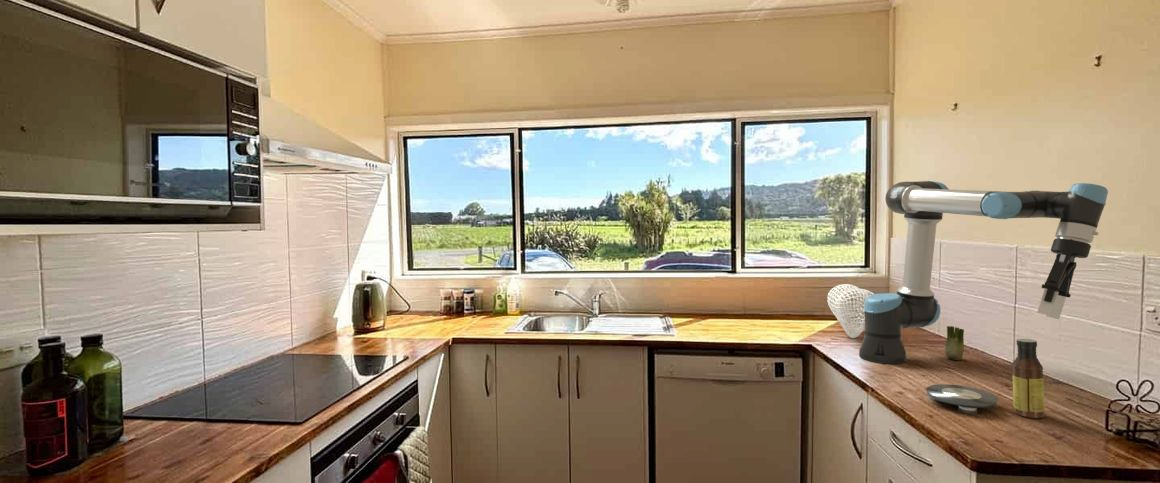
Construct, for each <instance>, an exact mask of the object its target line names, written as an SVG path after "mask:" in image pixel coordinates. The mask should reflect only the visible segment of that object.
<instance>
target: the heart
mask: <svg viewBox="0 0 1160 483" xmlns="http://www.w3.org/2000/svg"><path fill="white" fill-rule="evenodd" d="M874 294H875V293H874V292H872V291H871V290H868V289H863V288H860V287H858V286H857V285H854V284H850V283H841V284H837V285H835V286H834V287H832V288H831V289H830V290H829V292H828V293H827V299H826V301H827V305H828V307H829V309H830V311H831V312H832V313H833V315H834V317H835V318H836V319H837V321H838V323H839V324H840V325H841V327H842V329H843V330H844V331H845V333H846V335H848V337H850V338H851V339H856V338H858V337H859V336H860V335H861V334H862V333H863V332H864V331H865V313H864V306H865V299H866V298H867V297H868V296H870V295H874ZM852 299H853V300H852ZM852 304H853V305H852Z"/></svg>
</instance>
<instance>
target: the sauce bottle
mask: <svg viewBox="0 0 1160 483" xmlns="http://www.w3.org/2000/svg"><path fill="white" fill-rule="evenodd" d="M1037 342H1038V341H1037V340H1035V339H1031V338H1017V339H1016V346H1017V357H1016V358H1014V360H1013V362H1012V374H1011V375H1012V399H1013V400H1012V401H1013V402H1012V403H1013V405H1012V406H1013V410H1014V413H1015V414H1016V415H1018V416H1021V417H1025V418H1029V419H1043V418H1044V417H1045V410H1046V409H1045V408H1046V407H1045V406H1046V405H1045V404H1046V403H1045V383H1044V382H1045V381H1044V380H1045V379H1044V371H1043V370H1044V368H1043V365H1042V363H1041V361H1040V360H1039V359H1038V355H1037V347H1038V343H1037Z"/></svg>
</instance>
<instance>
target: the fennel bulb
mask: <svg viewBox="0 0 1160 483" xmlns="http://www.w3.org/2000/svg"><path fill="white" fill-rule="evenodd" d="M964 332H965V329H964V328H960V327H958V326H957V327H956V326H952V325H947V326H946V342H945V348H944V352H945V356H946V358H947V359H949V360H953V361H961V360H962V358H963V356H964V351H965V350H964V349H965V343H964V342H965V341H964V335H965V333H964Z"/></svg>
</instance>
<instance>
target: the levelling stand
mask: <svg viewBox="0 0 1160 483" xmlns="http://www.w3.org/2000/svg"><path fill="white" fill-rule="evenodd" d="M926 394H927V395H928V397H929V399H930V400H932V401H936V402H942V403H944V404H949V405H953V406H957V408H958V411H959V412H961V413H963V414H966V415H977V414H978V409H986V408H987V409H988V408H993V407H996V406H998V404H999V399H998V397H997V396H996V395H994V394H992V393H990V392H989V391H985V390H982V389H978V388H976V387H971V386H965V385H958V384H947V383H946V384H943V383H942V384H933V385H928V386H927V387H926Z"/></svg>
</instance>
